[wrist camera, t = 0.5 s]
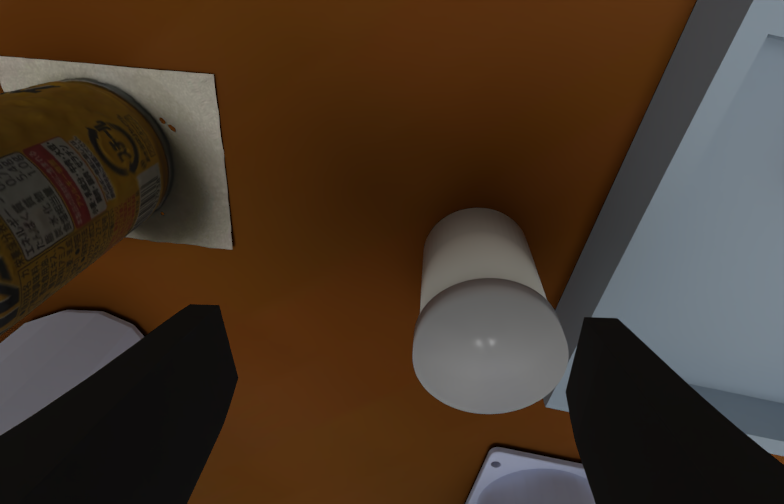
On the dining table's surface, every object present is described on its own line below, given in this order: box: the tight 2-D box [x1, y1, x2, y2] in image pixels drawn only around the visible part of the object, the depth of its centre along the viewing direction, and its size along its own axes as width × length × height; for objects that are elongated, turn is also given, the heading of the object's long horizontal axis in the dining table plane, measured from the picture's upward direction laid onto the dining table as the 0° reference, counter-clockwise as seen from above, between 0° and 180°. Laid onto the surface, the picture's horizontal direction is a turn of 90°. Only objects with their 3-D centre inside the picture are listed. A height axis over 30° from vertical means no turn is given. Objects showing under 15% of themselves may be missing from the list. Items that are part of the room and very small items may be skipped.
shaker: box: [412, 208, 569, 414], centre depth 17 cm, size 5×5×6 cm
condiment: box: [0, 56, 232, 336], centre depth 14 cm, size 7×8×12 cm
